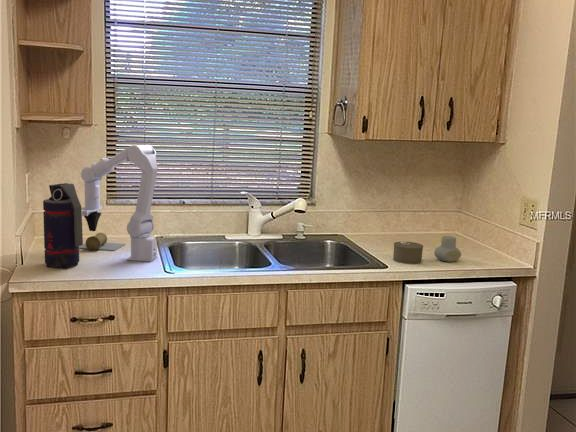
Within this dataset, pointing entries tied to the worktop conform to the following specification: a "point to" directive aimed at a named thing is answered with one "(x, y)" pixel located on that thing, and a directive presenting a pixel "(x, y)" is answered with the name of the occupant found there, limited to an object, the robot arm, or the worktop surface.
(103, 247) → the mat
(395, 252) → the can
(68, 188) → the grenade
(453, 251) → the air freshener
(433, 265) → the worktop surface
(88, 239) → the cork
